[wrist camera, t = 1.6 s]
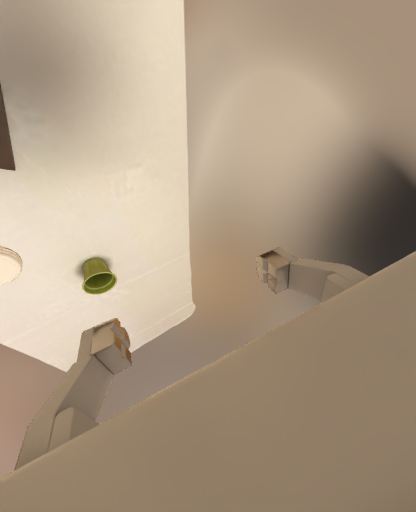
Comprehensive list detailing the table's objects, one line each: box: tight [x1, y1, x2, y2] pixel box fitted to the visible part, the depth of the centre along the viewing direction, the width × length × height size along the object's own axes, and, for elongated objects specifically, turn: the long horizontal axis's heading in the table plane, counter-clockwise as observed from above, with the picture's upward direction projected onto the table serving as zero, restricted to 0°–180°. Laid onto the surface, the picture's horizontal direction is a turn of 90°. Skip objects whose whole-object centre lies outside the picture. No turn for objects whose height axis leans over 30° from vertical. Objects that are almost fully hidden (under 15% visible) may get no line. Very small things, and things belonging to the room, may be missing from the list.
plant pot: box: [82, 258, 117, 295], centre depth 61 cm, size 9×9×9 cm
